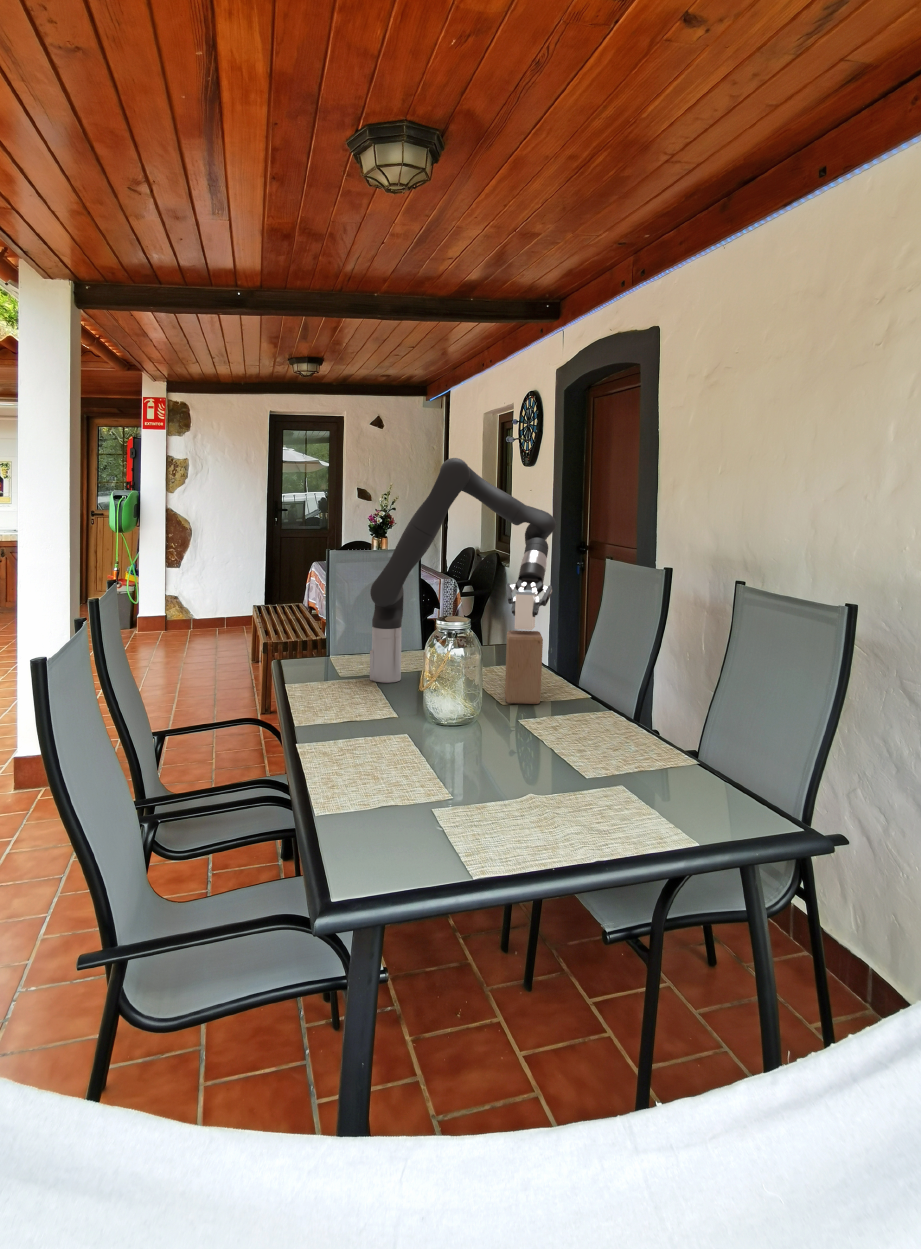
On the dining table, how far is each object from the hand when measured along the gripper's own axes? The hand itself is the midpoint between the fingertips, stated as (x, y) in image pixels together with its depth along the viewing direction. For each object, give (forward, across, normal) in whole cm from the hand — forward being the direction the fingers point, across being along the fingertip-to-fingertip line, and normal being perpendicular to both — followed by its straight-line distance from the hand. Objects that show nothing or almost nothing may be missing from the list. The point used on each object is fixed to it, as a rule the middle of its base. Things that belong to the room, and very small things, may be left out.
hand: (524, 614), depth 233 cm
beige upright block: (+2, 0, +4) cm, 5 cm away
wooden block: (+17, 0, +20) cm, 26 cm away
